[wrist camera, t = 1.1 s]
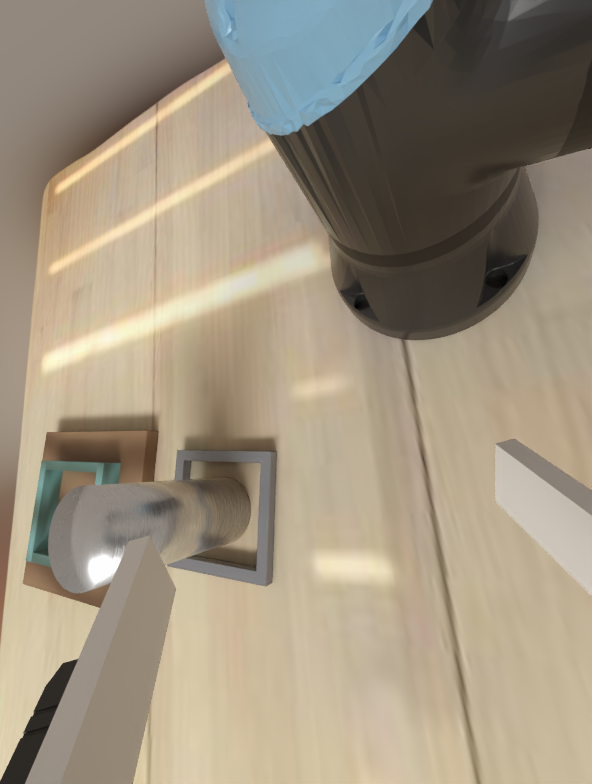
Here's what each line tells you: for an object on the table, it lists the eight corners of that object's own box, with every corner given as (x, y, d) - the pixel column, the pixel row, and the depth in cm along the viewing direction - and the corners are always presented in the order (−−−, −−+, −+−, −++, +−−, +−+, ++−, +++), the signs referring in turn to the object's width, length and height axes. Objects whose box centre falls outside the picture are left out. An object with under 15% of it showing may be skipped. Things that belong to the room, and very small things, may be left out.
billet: (201, 476, 35) (56, 483, 23) (252, 478, 32) (119, 488, 20) (196, 539, 34) (41, 583, 21) (248, 547, 31) (106, 602, 19)
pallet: (58, 433, 46) (29, 431, 43) (158, 431, 39) (131, 429, 35) (36, 580, 43) (3, 589, 40) (140, 610, 35) (109, 624, 32)
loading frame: (184, 450, 36) (177, 450, 36) (276, 451, 32) (271, 451, 31) (174, 563, 34) (167, 566, 34) (272, 582, 30) (266, 586, 29)
